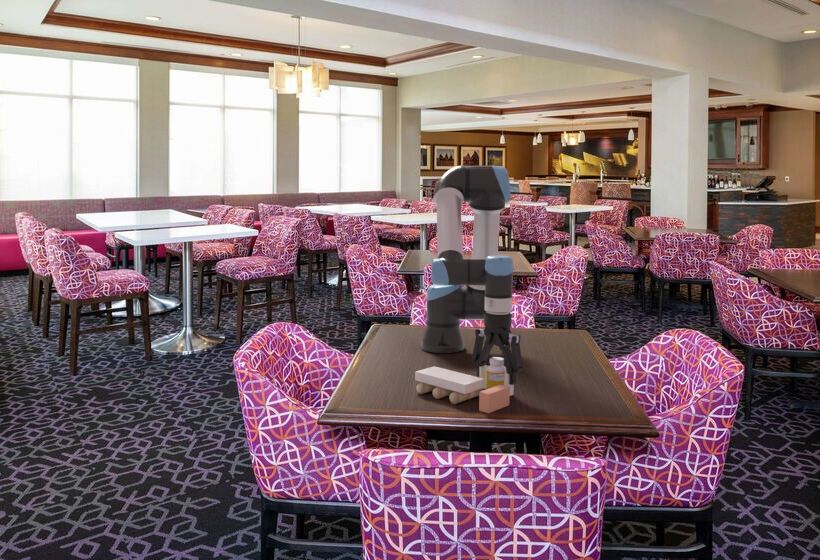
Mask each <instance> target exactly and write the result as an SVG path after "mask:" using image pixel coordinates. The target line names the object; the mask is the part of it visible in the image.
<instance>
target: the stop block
mask: <svg viewBox="0 0 820 560" xmlns="http://www.w3.org/2000/svg"><path fill="white" fill-rule="evenodd" d="M509 394H510V387H508V386H504V385H501V384H500V385H497V386H495V387H492V388H489V389H486V388H485V389H482V390H481V391H480V392H479V396H478V397H479V398H478V404H479V405H478V411H479V412H483V413H486V414H491V413H493V412H495V411H497V410H501V409H503V408H505V407H508V406H510V396H509Z"/></svg>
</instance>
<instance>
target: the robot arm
mask: <svg viewBox="0 0 820 560" xmlns="http://www.w3.org/2000/svg"><path fill="white" fill-rule="evenodd" d="M509 177H510V176H509V172H508V170H507V168H506V167H505V166H502V165H501V166H499V165H493V164H492V165H490V164H489V165H457V166H454V167H451V168H450V169H448V170H447V171H445V172H444V174H443V175H441V176H440V177H439V179H438V181H437V182H436V185H435V186H434V191H433V197H432V198H433V204H434V205H435V207H436V233H437V234H436V236H437V237H436V239H437V240H436V243H437V244H436V245H437V246H436V247H437V258H433V259H431V263H430V264H431V265H430V266H431V267H430V270H431V271H430V279H431V283H432V284H431V285H429V287H427V290H426V298H425V299H426V328H425V331H424V333H423V337H422V340H421V345H420V346H421V349H422V350H423V351H424V352H428V353H435V354H454V352H455V353H460V352H462V351H464V350H465V341H464V339H463V334H462V332H461V327H460V323H461V320H472V321H473V320H474V321H475V320H476V321H480V320H481V321H483V325H484V328H482V327H481V328H477V329H475V331H474V333H475V339H474V345H473V351H472V357H471V362H472V363H473V364H474V363H475V365H476V367H477V372H476V373H477V377H479V378H483V379H484V388H482V389H481V391H483V390H486V386H487V367H488V365H486V364H487V363H486V362H487V361H488V358H489V356H490V354H491V351H492V348H493V347H494V346H496V347H498V348H499V350H500V351H501V353H502V358H504V364H505V365H506V366H505V367H506V370H507V371H506V386H508V387H510V394H509V397H511V396H513V395H514V390H515V389H514V386H515V384H516V383H517V373H519V372H522V371H523V370H524V368H523V360H522V352H521V351H522V350H521V345H520V343H521V336H520V335H519V334H517V335H515V334H513V333H512V331H511V327H512V317H513V315H512V312H513V282H514V281H513V279H514V278H513V276H514V269H515V267H514V260H513V257H511V255H504V254H503V255H502V254H501V255H499V242H500V240H499V239H500V221H501V220H500V219H501V218H500V217H501V212H502V211H503V210H505V208H506V203H509V202H510V201H511V185H510V178H509ZM464 202H465V203H467V202H468V203H469V208H470V209H471V210H472V211H473V230H472V231H473V232H472V233H473V234H472V253H471V254H472V257H471V258H472V259H470V258H469V259H468V258H467V259H466V258H464V249H463V229H462V228H463V227H462V225H463V224H462V205H463V203H464ZM459 351H460V352H459Z"/></svg>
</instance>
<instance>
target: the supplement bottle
mask: <svg viewBox="0 0 820 560" xmlns="http://www.w3.org/2000/svg"><path fill="white" fill-rule="evenodd" d="M489 364H490V365H487V386H486V388H485V390H486V389H489V388H492V387H495V386H497V385H500V384H501V385H504V386H506V373H507V366H505V365H504V364H505V360H504V357H500V356H492V357H490V358H489Z"/></svg>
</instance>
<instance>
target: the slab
mask: <svg viewBox="0 0 820 560" xmlns="http://www.w3.org/2000/svg"><path fill="white" fill-rule="evenodd" d="M414 374H415V375H414V380H415V381H417V382H420V383H422V382H423V383H427V384H430V385H434V386H437V387H441V388H445V389H448V390H452V391H455V392H459V393H463V394H467V393H470V392H473V391H476V390H479V389H482V388H484V379H483V378H479V377H478V376H475V375H470V374H466V373H463V372H458V371H454V370H452V369H447V368H443V367H438V366H431V367H426V368H423V369H420V370H416V371H414ZM482 390H483V389H482Z"/></svg>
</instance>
